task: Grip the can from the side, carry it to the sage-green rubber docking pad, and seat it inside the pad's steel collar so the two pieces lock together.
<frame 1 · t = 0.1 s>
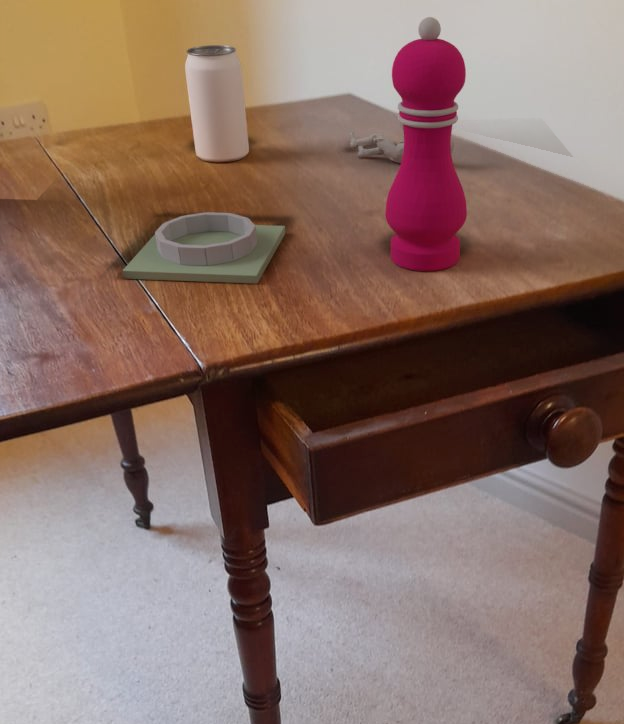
can: (223, 157, 107), on the table
dock pad: (209, 255, 81), on the table
pepper mill: (425, 260, 80), on the table
soldier figure: (400, 164, 104), on the table
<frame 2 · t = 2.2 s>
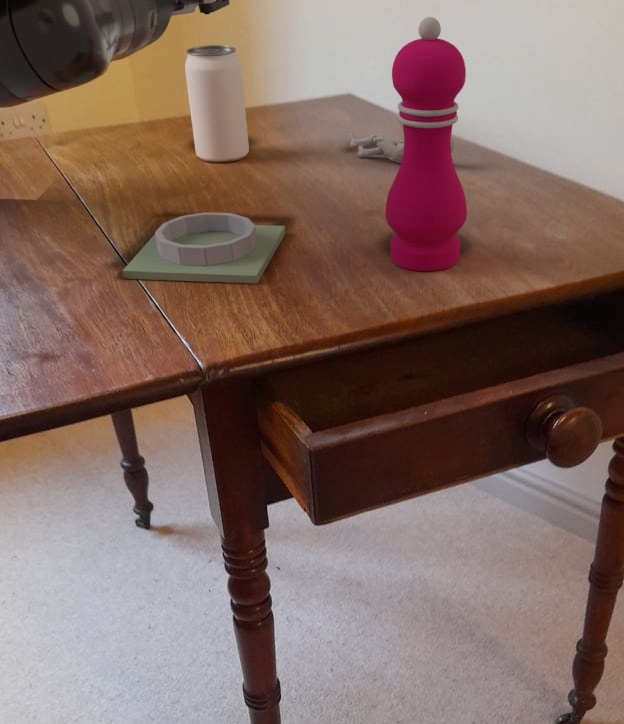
nothing on the table moved.
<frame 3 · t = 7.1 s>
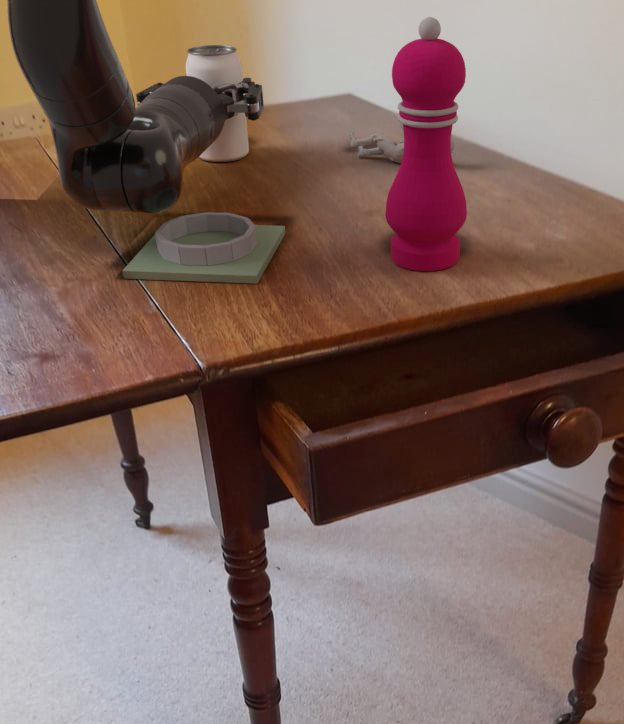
hand: (220, 86, 104), 8 cm above the table, tool horizontal, fingers closed on can, 6 cm apart
can: (223, 157, 107), on the table, touching gripper
everything else where it was.
when the fingers open (8 cm above the table, at t = 16.4 s): can stays where it is, resting on dock pad.
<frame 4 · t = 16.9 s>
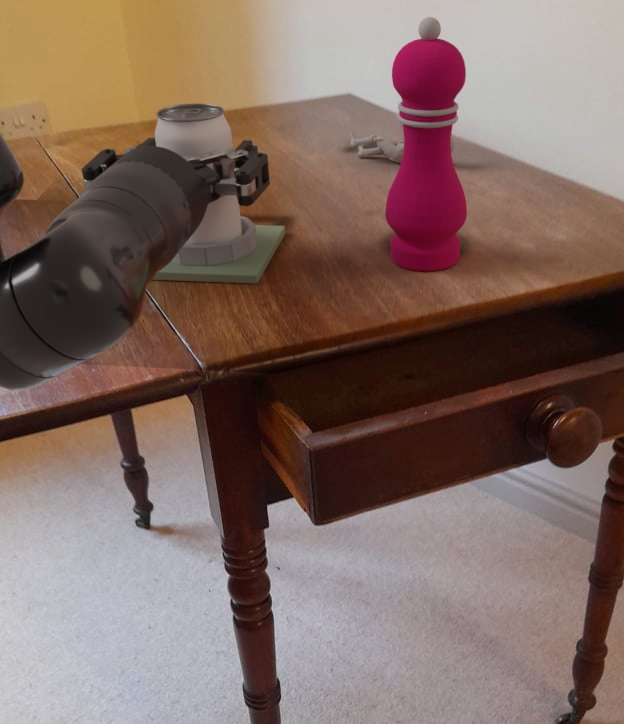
hand: (202, 150, 77), 9 cm above the table, tool horizontal, fingers open, 8 cm apart
can: (208, 249, 80), point 1 cm above the table, touching dock pad
everything else where it was.
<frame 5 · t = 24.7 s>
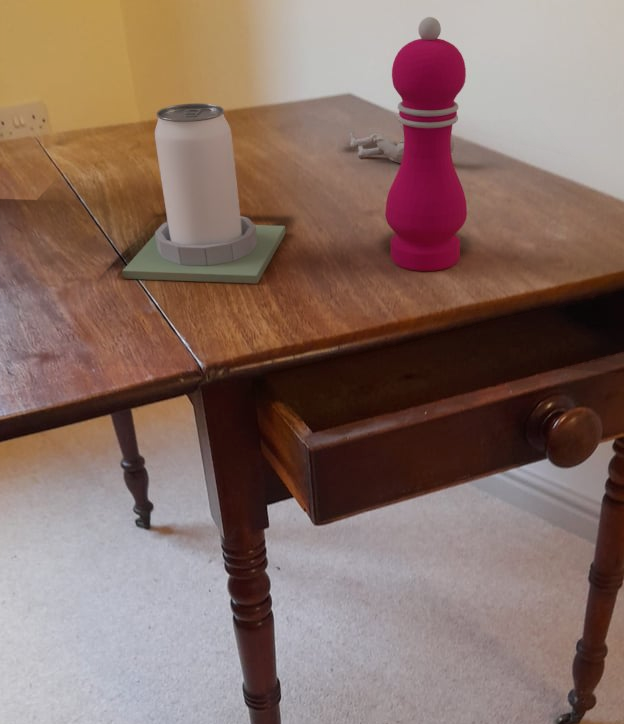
nothing on the table moved.
at the end: can 0.1 cm off-centre on the dock pad, point 0.6 cm above the dock pad's base; can tilted 0°; the gripper is holding nothing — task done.
